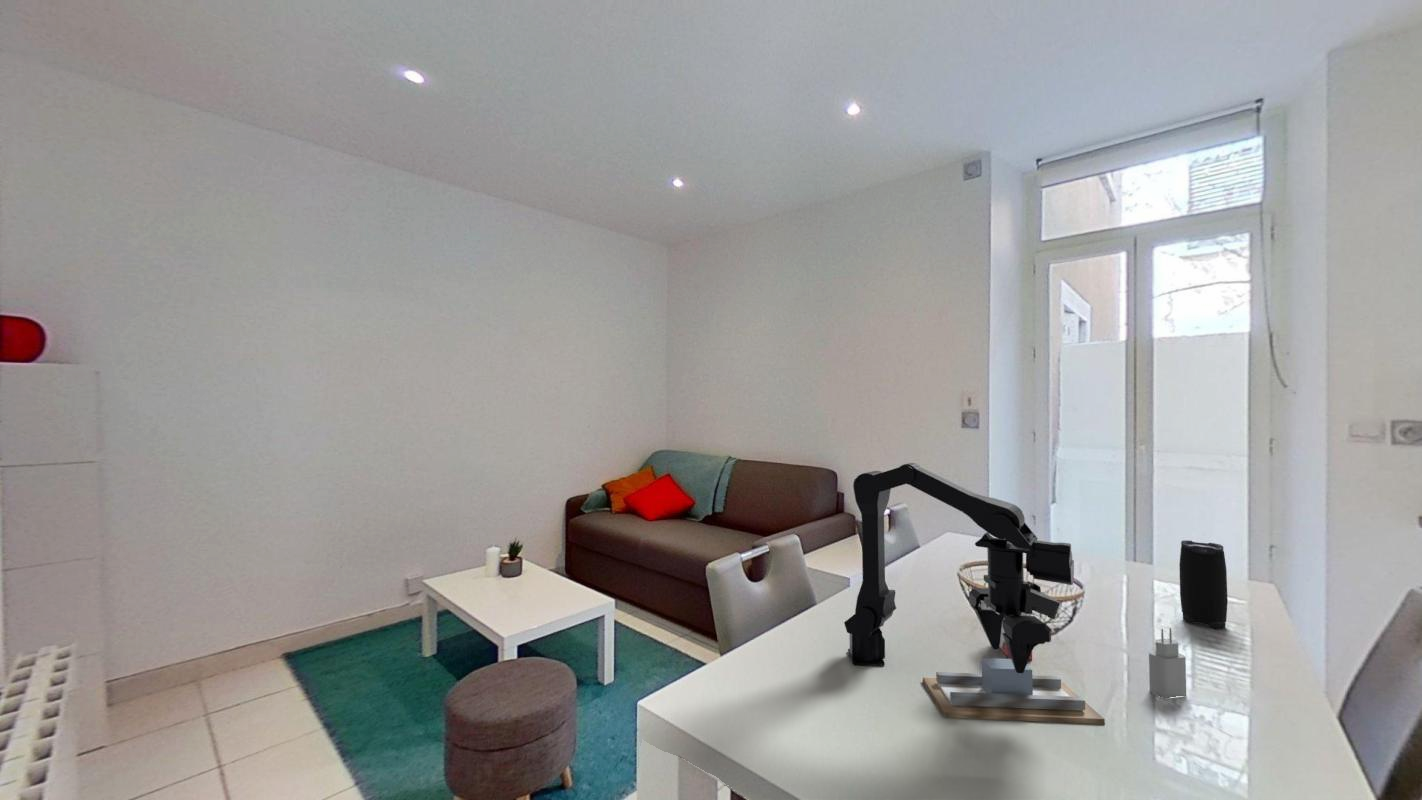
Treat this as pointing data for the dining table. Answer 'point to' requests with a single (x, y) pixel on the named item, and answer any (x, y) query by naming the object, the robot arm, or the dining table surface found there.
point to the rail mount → (1009, 700)
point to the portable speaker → (1203, 584)
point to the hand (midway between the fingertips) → (1007, 660)
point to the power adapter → (1167, 669)
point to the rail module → (1005, 677)
